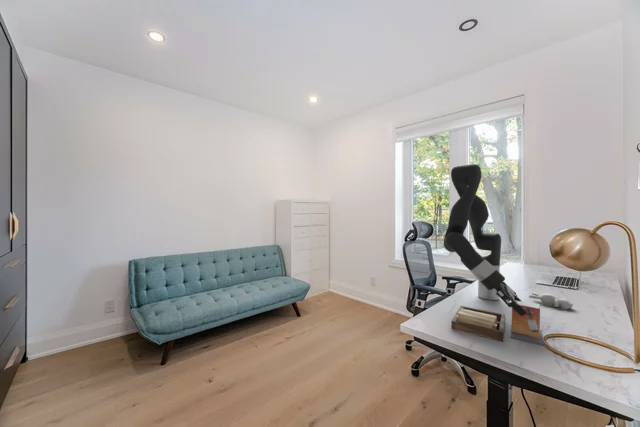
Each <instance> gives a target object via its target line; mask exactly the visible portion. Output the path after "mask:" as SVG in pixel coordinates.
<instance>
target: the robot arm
mask: <svg viewBox="0 0 640 427" xmlns="http://www.w3.org/2000/svg"><path fill="white" fill-rule="evenodd" d="M450 177H451V178H450V179H451V182H452V184H453V187H454V188H455V190H456V193H457V194H458V196H459V198H458V200H457V201H456V202H455V203H454V204H453V206H452V207H451V210H450V214H449V218H448V224H447V228H446V231H445V234H444V239H443V246H444V249H445V250H446V251H448V252H450V253H456V254H457V256H459V258H460V262H461V263H462V264H463V265H464V267H466V268H467V269H468V270H469V272H470V273H472V275H473V276H474V277H475V278H476V279H477V281H478V284H477V287H478V288H477V296H478V298H481V299H484V300H488V301H489V300H490V301H498V300H500V299H501V300H502V302H503V303H505V305H507V307H508V308H511V309H512V308H513V309H514V310H515V311H516V312H517V313H518V314H519V315H520V316H523V315H525V314H526V311H525V310H524V309H523V308H522V307H521V306H520V305H519V304H518V303H517V302H516V301H521V302H523V301H522V299H520V297H518V295H517V293H516V291H514V290H513V289H512V288H511V287H510V286H509V285H508V284H507V283H506V282H505V280H506V278H505V276H504V275H503V274H502V273H501V270H500V269H501V264H500V263H501V249H502V248H501V247H502V236H501V234H500V233H497V232H484V231H483V230H482V228H483V226H484V225H485V224H486V223H487V220H488V219H489V215H490V214H489V209H488V207H487V203H486V202H485V200H483V199H482V198H481V197H480V196H478V194H477V192H478V190H479V187H480V184H481V180H482V168H481V166H480V165H479V164H476V163H475V164H473V163H472V164H465V165H458V166H454V167H452V169H451V171H450ZM468 222H469V225H470V228H471V231H472V236H473V240H474V244H475V247H476V248H477V250H481V251H489V252H490V253H489V254H488V255H485V256H482V255H481V254H480V253H478V251H476V249H475V248H474V246H473V245H472V243H471V242H470V241H469V240H468V239H467V237H466V236H464V234H465V231H466V229H467V226H468ZM515 300H516V301H515Z"/></svg>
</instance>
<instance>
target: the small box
mask: <svg viewBox="0 0 640 427" xmlns="http://www.w3.org/2000/svg"><path fill="white" fill-rule="evenodd" d="M515 301H516V300H515ZM521 301H522V300H521ZM521 301H516V302H517V303H518V304H519V305H520V306H521V307H522V308H523V309H524V310H525V311H526V314H525V315H523V316H520V315H519V314H518V313H517V312H516V311H515V310H514V309H513V308H511V322H510V323H511V324H510V333H511V332H515V333H519V334H523V335H527V336H531V337H534V338H538V339H539V335H540V330H541V328H540V327H541V304H538V303H532V302H531V303H530V302H527V301H526V302H525V301H522V302H521Z"/></svg>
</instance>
